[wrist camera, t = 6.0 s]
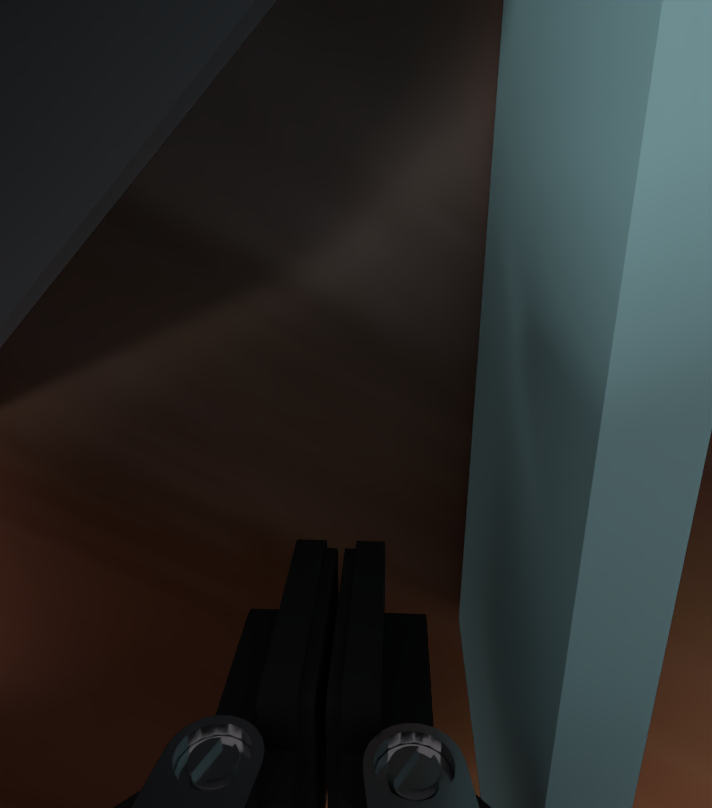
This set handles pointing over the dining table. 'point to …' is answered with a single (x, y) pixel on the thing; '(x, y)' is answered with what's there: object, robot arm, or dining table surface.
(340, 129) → the dining table surface
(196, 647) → the dining table surface
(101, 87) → the grey cabinet
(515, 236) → the side door
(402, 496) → the dining table surface
